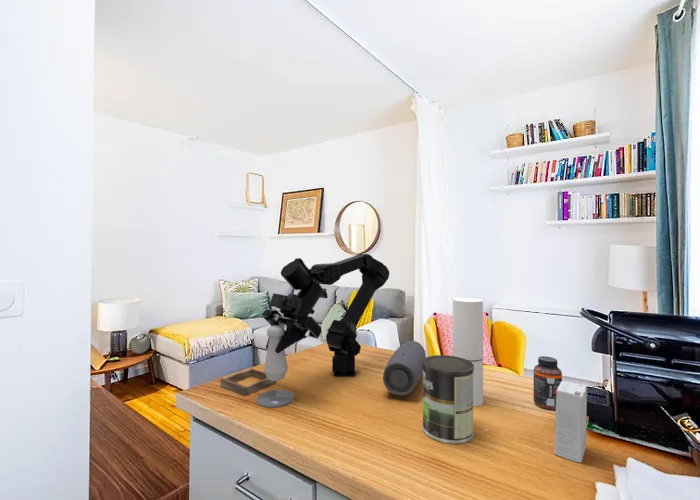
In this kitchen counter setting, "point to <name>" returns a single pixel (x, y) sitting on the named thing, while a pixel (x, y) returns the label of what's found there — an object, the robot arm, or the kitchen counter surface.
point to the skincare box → (570, 421)
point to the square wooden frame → (245, 390)
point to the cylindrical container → (470, 339)
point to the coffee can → (448, 398)
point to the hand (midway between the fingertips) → (271, 350)
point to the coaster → (275, 398)
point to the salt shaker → (275, 355)
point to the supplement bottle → (546, 382)
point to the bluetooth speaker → (404, 368)
